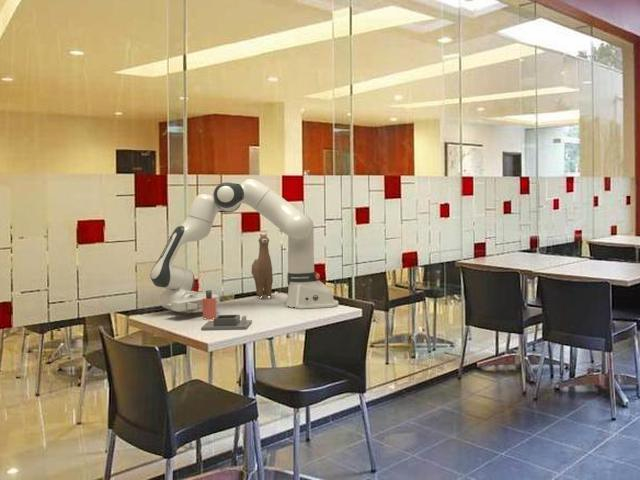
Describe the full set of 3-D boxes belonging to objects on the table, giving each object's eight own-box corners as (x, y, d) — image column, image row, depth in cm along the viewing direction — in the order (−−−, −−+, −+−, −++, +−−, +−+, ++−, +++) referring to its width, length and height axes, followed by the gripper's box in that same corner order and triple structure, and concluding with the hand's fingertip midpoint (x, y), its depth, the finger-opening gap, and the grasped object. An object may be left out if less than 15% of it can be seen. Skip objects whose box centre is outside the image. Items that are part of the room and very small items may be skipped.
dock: (251, 322, 227) (251, 313, 227) (246, 329, 215) (246, 319, 215) (209, 323, 228) (208, 314, 228) (201, 330, 216) (200, 320, 216)
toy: (257, 301, 277) (255, 234, 275) (251, 295, 297) (249, 233, 295) (276, 299, 279) (274, 234, 277) (270, 293, 299) (267, 232, 297)
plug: (210, 317, 240) (209, 289, 240) (216, 318, 238) (215, 290, 237) (203, 319, 238) (202, 290, 237) (208, 320, 235) (207, 291, 235)
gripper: (164, 297, 240) (184, 300, 231) (206, 290, 255) (227, 293, 246) (164, 313, 241) (185, 316, 231) (207, 305, 255) (228, 308, 246)
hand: (207, 304), depth 239 cm, fingers open, 8 cm apart
